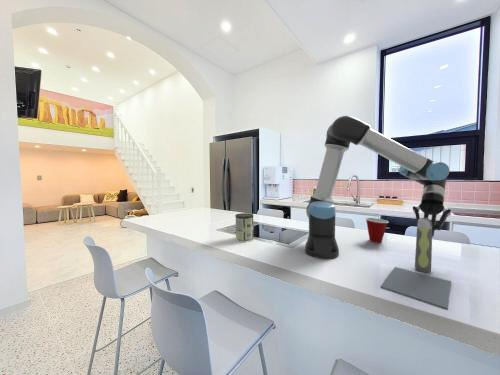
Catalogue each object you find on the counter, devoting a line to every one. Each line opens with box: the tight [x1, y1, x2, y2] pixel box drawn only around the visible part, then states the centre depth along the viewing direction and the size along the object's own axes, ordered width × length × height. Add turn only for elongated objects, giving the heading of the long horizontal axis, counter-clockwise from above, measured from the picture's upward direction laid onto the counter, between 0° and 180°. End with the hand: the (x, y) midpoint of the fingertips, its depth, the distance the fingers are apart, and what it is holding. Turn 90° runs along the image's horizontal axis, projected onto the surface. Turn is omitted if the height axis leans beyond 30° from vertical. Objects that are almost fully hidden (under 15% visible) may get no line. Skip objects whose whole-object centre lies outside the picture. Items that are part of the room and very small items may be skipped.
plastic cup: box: [365, 217, 389, 243], centre depth 115 cm, size 11×11×12 cm
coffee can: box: [234, 212, 254, 242], centre depth 121 cm, size 10×10×14 cm
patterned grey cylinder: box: [414, 217, 433, 273], centre depth 80 cm, size 5×5×20 cm
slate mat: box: [380, 266, 452, 310], centre depth 70 cm, size 20×16×1 cm
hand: (426, 242), depth 85 cm, fingers closed
